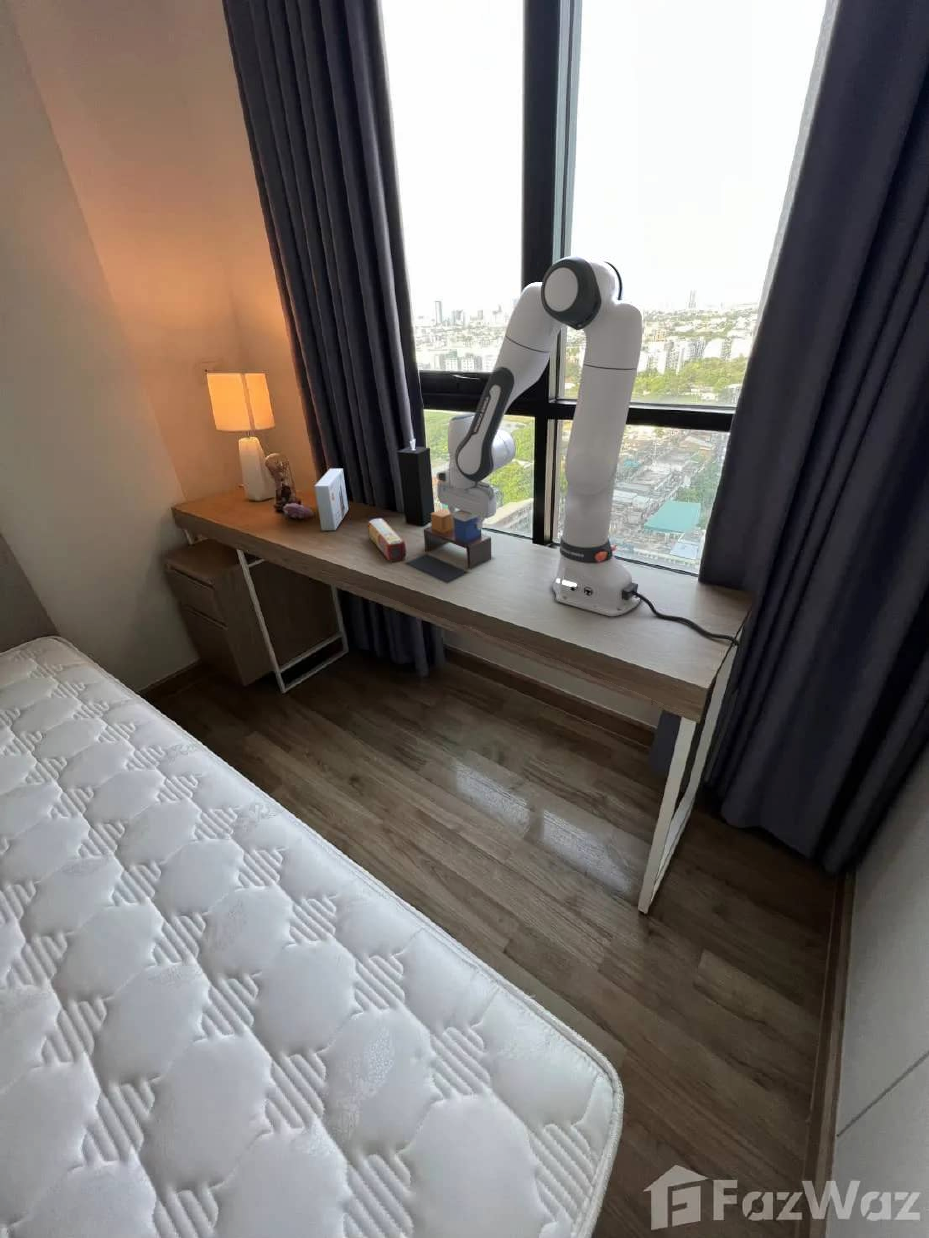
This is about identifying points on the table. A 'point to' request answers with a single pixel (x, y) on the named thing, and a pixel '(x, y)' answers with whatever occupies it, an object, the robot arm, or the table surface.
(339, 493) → the skincare box
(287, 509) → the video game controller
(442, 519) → the ochre box
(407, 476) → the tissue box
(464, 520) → the dark blue box
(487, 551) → the desk shelf
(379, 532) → the snack package
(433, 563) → the felt pad
